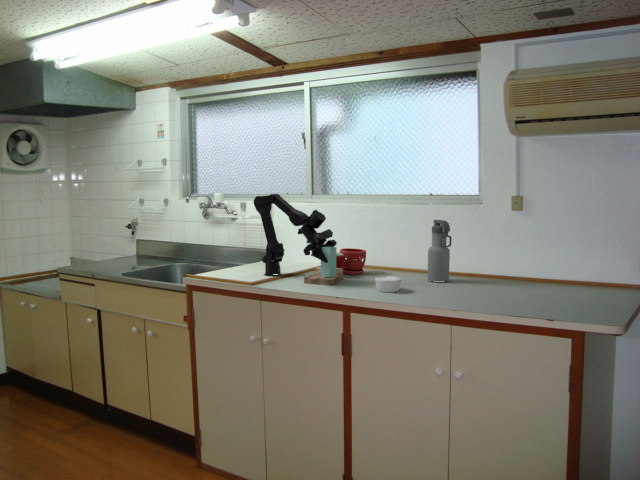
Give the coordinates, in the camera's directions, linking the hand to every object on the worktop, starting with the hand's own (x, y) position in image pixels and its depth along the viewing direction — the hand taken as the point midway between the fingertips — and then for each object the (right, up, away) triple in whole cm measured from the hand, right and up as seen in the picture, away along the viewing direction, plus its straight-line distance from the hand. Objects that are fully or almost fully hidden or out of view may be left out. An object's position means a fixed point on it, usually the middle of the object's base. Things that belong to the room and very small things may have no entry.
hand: (330, 261), depth 239 cm
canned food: (+3, -8, +19) cm, 21 cm away
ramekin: (+24, -12, -14) cm, 30 cm away
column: (-1, -7, +2) cm, 7 cm away
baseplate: (-3, -9, +5) cm, 11 cm away
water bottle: (+50, -9, +7) cm, 51 cm away
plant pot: (+11, -7, +27) cm, 30 cm away
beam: (-1, -6, +10) cm, 12 cm away
